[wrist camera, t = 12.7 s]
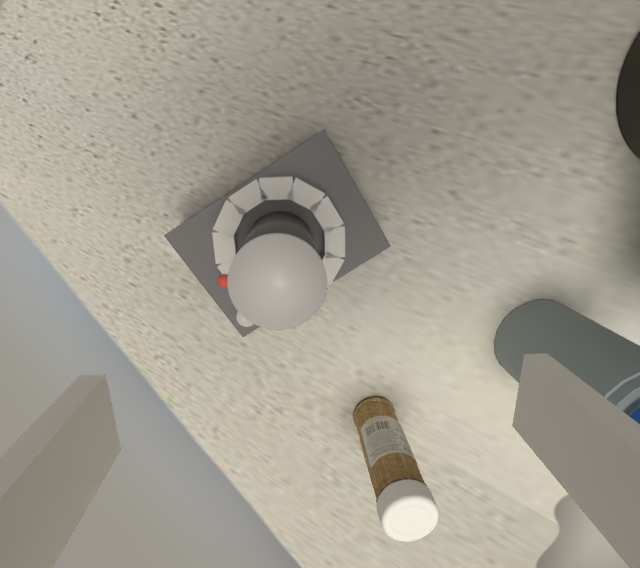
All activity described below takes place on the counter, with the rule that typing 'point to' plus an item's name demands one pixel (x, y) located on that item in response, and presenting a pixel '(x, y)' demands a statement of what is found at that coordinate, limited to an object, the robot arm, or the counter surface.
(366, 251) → the grey block with ring
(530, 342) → the spray bottle
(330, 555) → the counter surface
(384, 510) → the sprinkles bottle
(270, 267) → the grey cylinder
